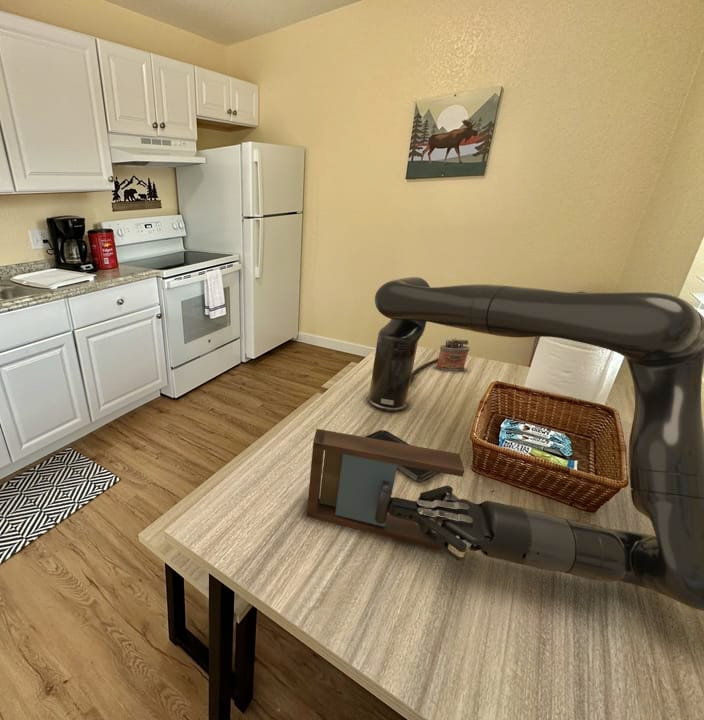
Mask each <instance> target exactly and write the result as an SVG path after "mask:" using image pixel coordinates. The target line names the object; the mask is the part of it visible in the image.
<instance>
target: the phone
mask: <svg viewBox="0 0 704 720" xmlns="http://www.w3.org/2000/svg"><path fill="white" fill-rule="evenodd" d="M365 437H367V438H373V439H378V440H384V441H390V442H395V443H401V444H407V445H411V444H409V443H408V442H406V441H404V440H403V439H402V438H400V437H398V436H396V435H395V434H393V433H391V432H389V431H388V430H386V429H380V430H378V431H376V432H372V433H371V434H368V435H366V436H365ZM397 470H398V471H399V472H401V473H402V474H404V475H406V476H407V477H408V478H410V479H411V480H413V481H415V482H418V483H421V482H423V481H425V480H427V479H429V478H431V477H433V476H435V475H436V474H438V473H439V472H435V471H429V470H424V469H419V468H414V467H409V466H403V465H398V466H397Z"/></svg>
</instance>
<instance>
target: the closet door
mask: <svg viewBox="0 0 704 720" xmlns="http://www.w3.org/2000/svg"><path fill="white" fill-rule="evenodd" d="M397 466H398V464H393V463H388V462H383V461H378V460H372V459H367V458H362V457H357V456H352V455H346V454H343V458H342V465H341V473H340V481H339V489H338V496H337V504H336V512H335V515H338V516H342V517H346V518H350V519H354V520H358V521H362V522H366V523H370V524H375V525H379V526H383V527H385V524H386V520H387V515H388V514H389V513H388V507H389V502H390V498H392V495H393V490H394V484H395V480H396V476H397V475H396V474H397V470H398V469H397Z"/></svg>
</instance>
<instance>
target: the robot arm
mask: <svg viewBox="0 0 704 720" xmlns="http://www.w3.org/2000/svg"><path fill="white" fill-rule="evenodd" d="M374 305H375V307H376V309H377V311H378V312H379V313H380V314H381V315H382V316H384V317H385V318H387V319H389V321H388V322H387V323H386V324H385V325H384V326H383V327H381V328H380V329H379V331H378V333H377V340H376V346H375V353H374V360H373V367H372V372H371V373H372V374H371V379H370V386H369V393H368V395H367V396H368V397H367V402H368V403H369V405H371V406H372V407H373V408H376V409H378V410H381V411H385V412H399V411H403V410H405V408H406V406H407V400H408V394H409V389H410V385H411V383H412V381H413V379H414V376H415V375H416V374H418V373H419V372H420V371H422V370H424V369H425V368H427V367H429V366H431V365H433V364H435V363H436V364H437V363H438V358H439V357H437V358H436V359H433V360H430V361H429V362H426V363H425V364H423V365H421V366H419V367H417V368H416V369H415V370H414V365H415V360H416V354H417V349H418V345H419V340H420V339H421V338H422V336H423V334H424V332H425V330H426V326H427V323H432V324H437V325H441V326H445V327H450V328H455V329H459V330H465V331H470V332H475V333H479V334H486V335H491V336H497V337H504V338H556V339H564V340H568V341H572V342H577V343H582V344H586V345H590V346H594V347H597V348H602V349H605V350H608V351H611V352H615V353H617V354H619V355H621V356H622V357H624V358H625V360H626V363H627V365H628V369H629V373H630V376H631V379H632V385H633V390H634V392H633V393H634V412H633V420H632V425H631V429H630V435H629V443H628V469H629V471H628V473H629V483H630V484H629V485H630V486H629V487H630V497H631V501H632V505H633V507H634V509H635V510H636V511H638V512H639V513H640V514H642V515H644V516H645V517H646V518H648V519H649V521H650V522H651V525H652V528H653V532H654V535H652V534H647V533H641V532H635V531H629V530H623V529H614V528H606V527H603V526H600V525H596V524H593V523H589V522H584V521H579V520H575V519H570V518H565V517H560V516H556V515H554V514H550V513H548V512H544V511H539V510H535V509H530V508H526V507H520V506H516V505H511V504H506V503H501V502H495V501H492V500H484V501H482V502H481V503H474V502H472V501H469V500H468V499H465V498H459V497H458V496H457V495H455V494H454V492H453V491H454V488H453V487H452V486H451V485H443V486H439V487H437V488H436V487H435V488H433V489H430V490H426V491H423V492H420V494H419V497H418V499H417V500H411V499H406V498H402V497H397V496H395V497H391V498H390V502H389V507H388V514H389V515H392V516H394V517H396V518H401V519H405V520H409V521H413V522H415V524H417V525H418V526H419V527H420V529H421V531H420V532H421V534H422V535H423V536H425V537H426V538H427V539H429V540H430V541H431V542H433V543H434V544H435V545H437V546H438V547H439V548H441V551H444V553H446V554H448V555H449V556H450V557H452V558H453V559H454V560H456V561H457V562H462V561H463V560H464V557H465V555H466V553H468V552H469V551H472V552H479V551H480V552H481V553H482V555H484V556H486V557H489V558H493V559H497V560H500V561H501V560H502V561H504V562H505V561H506V562H509V563H513V564H518V565H522V566H526V567H528V568H529V567H530V568H534V569H537V570H541V571H548V572H555V573H557V572H558V573H562V574H566V575H570V576H574V577H579V578H583V579H587V580H592V581H597V582H603V583H616V582H620V583H625V584H630V585H633V586H637V587H640V588H644V589H647V590H650V591H653V592H656V593H658V594H661V595H663V596H665V597H667V598H669V599H672V600H673V601H675V602H678V603H680V604H682V605H684V606H685V607H689V608H690V609H694V610H697V611H701V612H704V422H703V413H702V412H703V411H702V386H703V384H702V383H703V374H704V373H703V372H704V316H703V314H701V312H699V311H698V310H697V309H696V307H694V306H693V305H692V304H691V303H689V302H688V301H687V300H684V299H683V298H680V297H678V296H675V295H672V294H668V293H663V292H651V291H649V292H648V291H647V292H646V291H645V292H644V291H643V292H642V291H639V292H637V291H636V292H635V291H634V292H633V291H632V292H570V291H569V292H567V291H559V290H551V289H545V288H537V287H536V288H534V287H524V286H515V285H503V284H485V283H484V284H482V283H481V284H480V283H479V284H458V285H448V286H436V287H434V286H433V287H431V286H430V285H429V283H428V281H427V280H425V279H424V278H422V277H419V276H410V277H404V278H397V279H391V280H389V281H387V282H385V283H383V284H382V285H381V286H380V287H379V288H378V290H377V291H376V292H375V295H374ZM431 530H432V531H433V532H434V533H437V535H436V534H434V533H433V532H431Z"/></svg>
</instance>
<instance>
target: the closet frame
mask: <svg viewBox="0 0 704 720" xmlns="http://www.w3.org/2000/svg"><path fill="white" fill-rule="evenodd" d="M311 451H312V452H311V462H310V473H309V485H308V497H307V506H306V507H307V509H306V518H310V519H314V520H318V521H322V522H325V523H330V524H334V525H337V526H342V527H346V528H349V529H354V530H358V531H362V532H366V533H369V534H374V535H377V536H382V537H384V538H385V537H386V538H389V539H394V540H397V541H402V542H404V543H405V542H406V543H410V544H413V545H418V546H422V547H426V548H430V549H433V550H437V551H442V549H441V548H439V547H438V546H437V545H435V544H434V543H433V542H431V541H430V540H429V539H427V538H426V537H425V536H423V535H422V534H421V532H420V531H421V529H420V527H419V526H418V525H417V524H415V522H413V521H409V520H405V519H401V518H396V517H394V516H392V515H390V514H389V513H388V515H387V520H386V524H385V527H383V526H379V525H375V524H370V523H366V522H362V521H358V520H354V519H350V518H346V517H342V516H338V515H335V512H336V504H337V496H338V489H339V481H340V473H341V465H342V458H343V454H346V455H352V456H357V457H362V458H367V459H372V460H378V461H383V462H388V463H393V464H398V465H403V466H409V467H414V468H419V469H424V470H429V471H435V472H438V473H441V474H445V475H450V476H456V477H462V478H463V477H464V475H465V472H466V470H465V466H464V464H463V460H462V457H461V454H460V453H457V452H452V451H445V450H440V449H436V448H435V449H434V448H429V447H423V446H417V445H413V444H412V445H411V444H410V445H407V444H401V443H395V442H390V441H384V440H378V439H373V438H367V437H366V436H361V435H355V434H349V433H343V432H337V431H332V430H326V429H321V428H316V430H315V434H314V438H313V441H312V450H311ZM431 532H433V531H432V530H431ZM433 533H434V532H433ZM434 534H436V535H437V533H434Z"/></svg>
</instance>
